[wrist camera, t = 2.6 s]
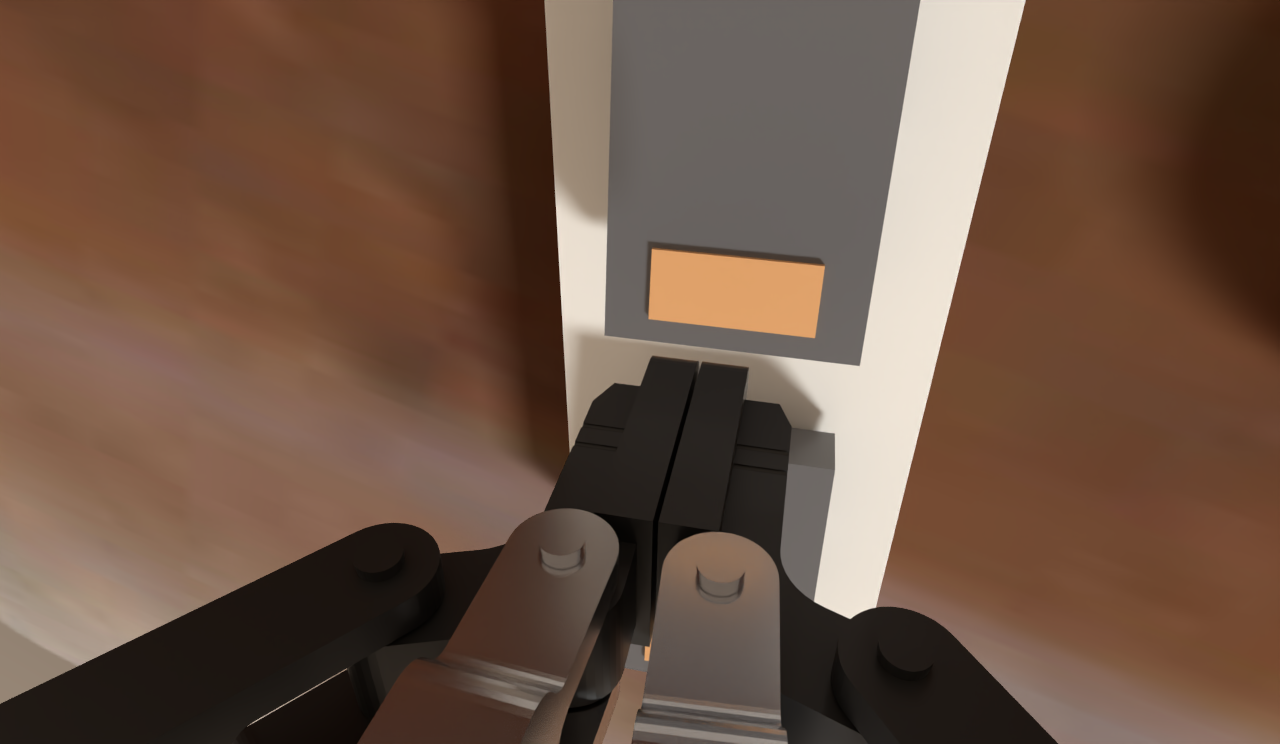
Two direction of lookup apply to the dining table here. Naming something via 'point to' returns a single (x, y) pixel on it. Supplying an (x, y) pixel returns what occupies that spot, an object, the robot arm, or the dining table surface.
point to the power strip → (903, 285)
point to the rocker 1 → (752, 170)
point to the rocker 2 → (794, 517)
